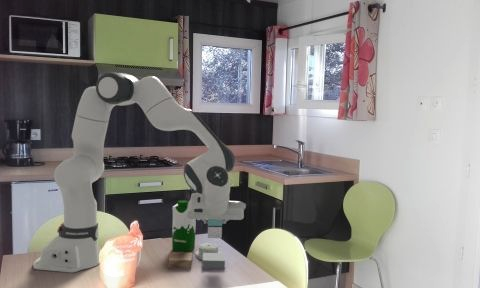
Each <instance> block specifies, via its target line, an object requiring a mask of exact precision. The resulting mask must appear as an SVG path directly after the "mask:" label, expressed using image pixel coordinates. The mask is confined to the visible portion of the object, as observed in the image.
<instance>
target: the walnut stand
mask: <svg viewBox="0 0 480 288" xmlns="http://www.w3.org/2000/svg"><path fill="white" fill-rule="evenodd" d="M192 265H193V252H190V251H189V252H183V251H178V252H177V251H175V252H173V251H171V252H170V255H169V258H168V269H192Z"/></svg>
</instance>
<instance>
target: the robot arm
mask: <svg viewBox="0 0 480 288" xmlns="http://www.w3.org/2000/svg"><path fill="white" fill-rule="evenodd" d="M136 104H137V105H138V106H139V107H140V109H142V111H143V113H144V115H145V116H146V118H147V120H148V121H149V122H150V124H151V125H152V126H153V127H154V128H156V129H158V130H160V131H165V132H173V131H174V132H175V131H179V130H180V131H182V130H184V131H191V132H192V133H194V135H196V136H197V137H198V138H199V139H200V141H201V142H202V143H203V144H204V145H205V146H206V147H207V149H208V150H207V151H205V152H204V153H202V154H200V155H199V156H197V157H195V158H193V159H191V160H190V161H187V163H185V164H184V168H183V177H184V180H185V183H186V184H187V186H188V187H189V188H190V189H191V190H192V191H194V193H191V195H190V200H189V201H188V207H187V218H189V219H196V220H200V221H202V222H203V224H206V225H208V219H220V220H222V225H223V224H224V225H225V224H227V222H228V221H230V220H231V221H232V220H233V221H236V220H237V221H238V220H239V221H241V220H243V219H244V218H245V215H244V211H245V210H246V207H247V204H246V203H244V202H243V201H241V200H239V201H238V200H230V193H231V179H230V175H229V173H230V172H232V171H233V169H234V166H235V162H236V158H235V155H234V153H233V151H232V150H231V149H230V148H229V147H228V146H227V145H226V144H225V143H223V141H222V140H220V139H219V137H218V136H217V135H216V134H215V133H214V132H213V131H212V129H211V128H210V127H209V126H208V125H207V124H206V123H205V122H204V121H203V119H202V118H201V117H200V116H199V115H198V114H197V113H196V112H195V111H194V110H192V109H190V108H185V107H184V106H182V105H180V104H179V103H178V101H176V99H175V98H174V96H173V95H172V94H171V92H170V90H168V88H167V87H166V85H164V83H163V82H162V81H161V80H160V79H159V78H158V77H156V76H153V75H149V76H145V77H143V78H141V79H140V78H138V77H137V76H134V75H131V74H128V73H125V72H115V71H110V72H106V73H104V74H102V75H100V76H99V78H98V79H97V81H96V84H95V85H93V86H89V87H87V88H85V90H84V91H83V93H82V95H81V97H80V100H79V102H78V104H77V105H78V106H77V107H76V108H77V109H76V113H75V118H74V122H73V127H72V132H71V140H72V143H73V153H72V154H73V155H72V157H68V158H65V159H64V160H63V161H62V162H60V163H58V165H57V166H56V168H55V169H54V172H53V179H54V182H55V184H56V186H58V188H59V189H60V193H61V197H62V201H63V202H62V203H63V222H62V223H61V224H60V225H59V226H58V228H57V231H56V233H58V235H57V236H55V237H54V238H53V239H51V240H49V242H48V243H46V244H45V245H44V246H43V248H42V249H41V252H40V254H41V255H40V256H39V257H38V258H36V260H35V261H34V262H33V269H34V270H40V271H52V272H61V273H76V272H79V271H82V270H87V269H91V268H94V267H96V266H98V265H99V264H100V263H99V254H100V248H99V244H98V242H99V241H98V239H99V223H98V202H97V200H96V198H95V196H94V192H93V187H92V186H93V185H92V184H93V183H94V182H96V181H98V180H99V178H100V177H101V176H102V175H103V173H104V172H105V163H104V152H105V151H104V148H105V139H106V134H107V131H108V126H109V121H110V116H111V112H112V110H113V108H114V107H115V106H118V107H122V106H133V105H136Z"/></svg>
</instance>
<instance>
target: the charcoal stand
mask: <svg viewBox="0 0 480 288" xmlns="http://www.w3.org/2000/svg"><path fill="white" fill-rule="evenodd" d="M201 267H202V270H203V269H204V270H206V269H207V270H208V269H210V270H211V269H213V270H214V269H216V270H217V269H218V270H222V269H223V270H225V268H226V257H225V252H221V253H203V260H202V265H201Z"/></svg>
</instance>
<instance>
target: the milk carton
mask: <svg viewBox="0 0 480 288" xmlns="http://www.w3.org/2000/svg"><path fill="white" fill-rule="evenodd" d="M188 203H189V201H188V200H186V199H185V200H184V199H183V200H178V201H177V203H176V204H175V205H173V206H172V227H171V228H172V229H171V230H172V231H171V232H172V234H171V236H172V237H171V239H172V243H171V246H172V251H175V252H177V251H178V252H189V253H190V251H192V250H193V249H194V248H195V245H196V244H195V243H196V228H197V227H196V226H197V225H196V222H197V221H196V220H197V219H189V218H187V207H188Z"/></svg>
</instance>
